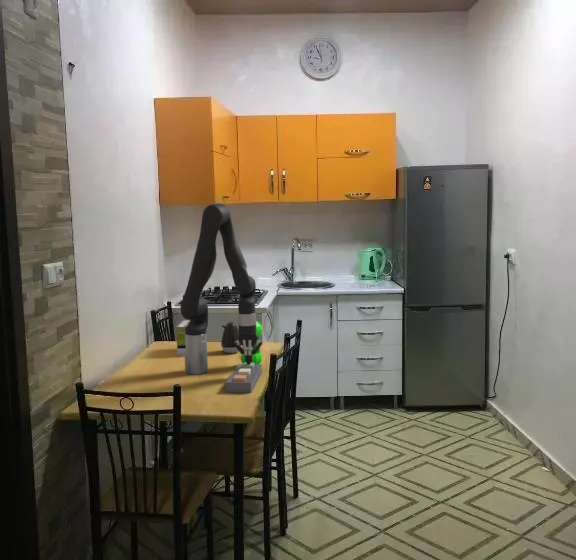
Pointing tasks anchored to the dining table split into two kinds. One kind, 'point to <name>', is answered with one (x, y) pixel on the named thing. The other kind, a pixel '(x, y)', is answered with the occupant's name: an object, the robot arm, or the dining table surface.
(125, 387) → the dining table surface
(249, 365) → the green button
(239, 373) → the cream button
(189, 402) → the dining table surface
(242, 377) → the terracotta button
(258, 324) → the plastic bottle
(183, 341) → the tea box
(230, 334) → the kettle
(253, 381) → the button panel
